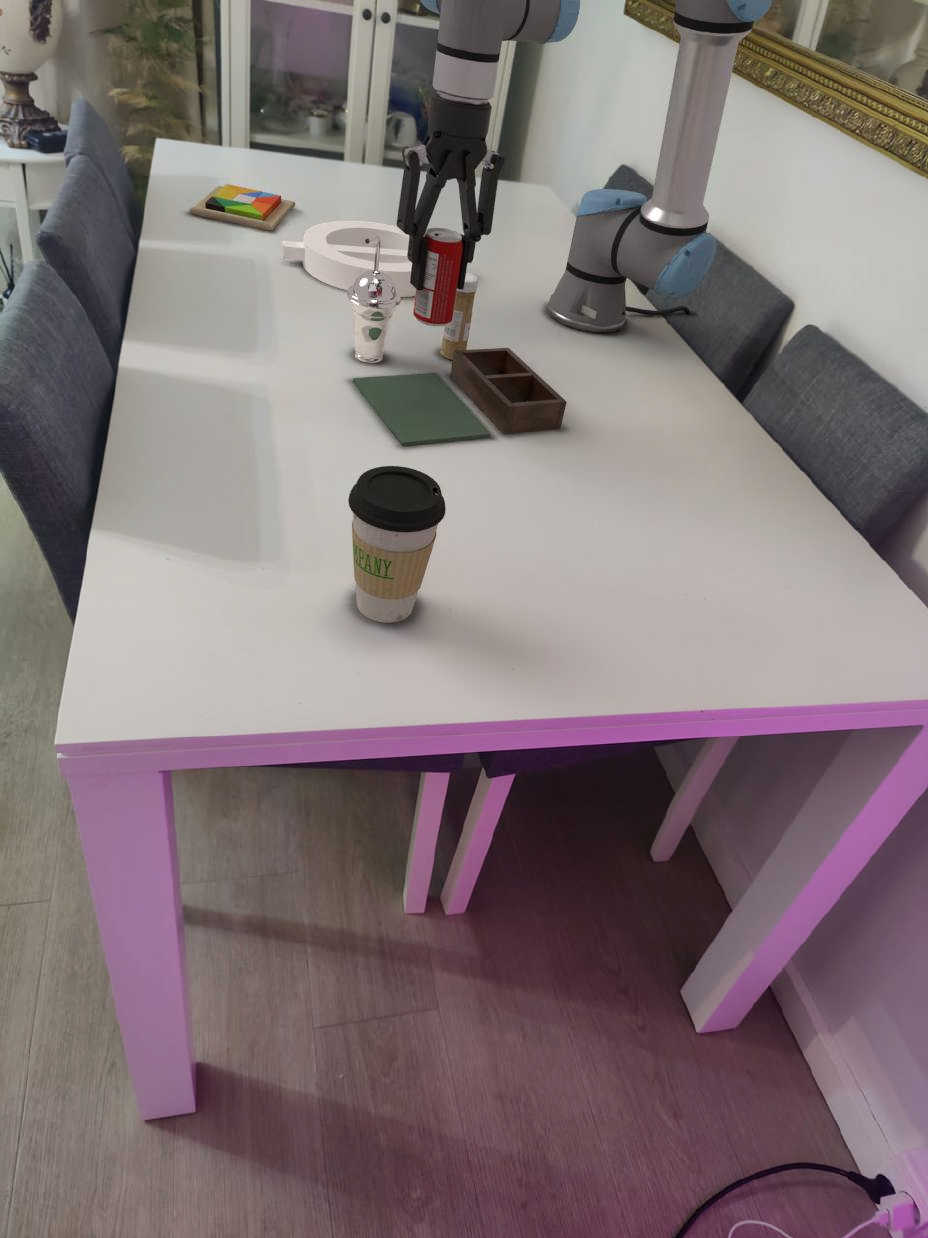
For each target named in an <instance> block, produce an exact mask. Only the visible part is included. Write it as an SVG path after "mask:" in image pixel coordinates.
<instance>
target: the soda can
mask: <svg viewBox="0 0 928 1238" xmlns="http://www.w3.org/2000/svg"><path fill="white" fill-rule="evenodd" d="M461 234H462V233H459V232H458V231H455V230H452V229H449V228H444V227H430V228H427V230H426V232H425V235H424V237H425V238H426V239H427V240H428V241H429V244H428V252H427V260H426V268H425V276H424V284H423V290H417V289H416V295H415V296H414V305H413V312H412V315H413V317H414V318H415V319H416V321H417V322H419V323H420V324H422V325H425V326H429V327H444V326H445V325H447V324H448V323H450V322H451V321H452V318H453V311H454V304H455V298H456V291H457V284H458V277H459V271H460V264H461V257H462V250H463V246H462V236H461Z"/></svg>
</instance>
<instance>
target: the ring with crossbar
mask: <svg viewBox="0 0 928 1238" xmlns="http://www.w3.org/2000/svg"><path fill="white" fill-rule="evenodd" d="M375 236H379V237H380V239H381V247H380V258H379V269H378V270H379V271H382V272H384V273H386V274H387V275H388V276H389V277H391V279H392V280H393V282H394V284H395V286H396V290H397V292H399V294H400V296H401V298H411V297H415V295H416V288H415V287H414V286H413V285H412V284H411V283H410V277H411V269H412V263H411V262H410V261H409V260H408V257H407V253H408V244H409V235H407V234H405V233H404V232H403V231H401V230H400V229H399V228H398V227H397V225H393V224H388V223H382V222H376V221H368V220H367V221H365V220H334V221H326V222H322V223H317V224H315V225H313V226H310V227H309V228H308V229H306V230H305V231H304V233H303V238H302V239H303V240H302V241H293V240H281V256H282V260H287V261H288V260H289V261H301V262H302V266H303V268H304V269H305V271H306V272H307V273H308V274H309V275H310V276H312V277H314V278H315V279H316V280H318V281H320V282H323V283H324V284H326V285H329V286H331V287H334V288H337V289H341V290H344V291H347V292H348V289H349V287H350V286H352V285H353V284H354V282H355V280H356V279H357V277H358V276H359V275H360V274H362V273H364V272H366V271H369V270H374V263H375V251H376V242H373V243H369V244H366V243H365V240H366V239H368V238H372V237H375Z"/></svg>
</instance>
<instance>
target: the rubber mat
mask: <svg viewBox="0 0 928 1238" xmlns="http://www.w3.org/2000/svg"><path fill="white" fill-rule="evenodd" d="M352 382H353V384H354V385H355V386H356V387H357V389H358V390H359V391H360V393H361V394H362V395H363V396H364V398H365V399H366V400H367V401H368V403H369V404H370V406H371V407H372V408H373V409H374V411H375V412H376V413H377V414H378V416H379V417H380V418H381V420H382V421H383V422H384V424H385V425H386V426H387V428H388V429H389V431H390V432H391V433H392V434H393V436H394V437H395V438H396V439H397V441H398V442H399V443H400V444H401V446H402V447H406V446H416V445H417V446H418V445H426V444H437V443H447V442H454V441H455V442H457V441H466V440H476V439H486V438H491V436H492V435H491V432H490V431H489V429H487V428H486V427H485V426H484V425H483V424H482V423H481V422H480V420H479V419H478V418H477V416H475V415H474V414H473V413H472V411H471V410H470V409H469V408H468V407H467V406H466V405H465V404H464V403H463V402H462V401H461V399H460V398H459V397H458V396H457V395H456V394H455V393H454V392H453V391H452V390H451V389H450V388H449V387H448V385H447V384H446V383H445V382H444V381H443V380H442V379H441V378H440V376H439V375H438V374H437V373H436V372H428V373H427V372H426V373H413V374H397V375H396V374H395V375H380V376H366V377H364V376H363V377H353V379H352Z"/></svg>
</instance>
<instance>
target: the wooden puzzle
mask: <svg viewBox="0 0 928 1238" xmlns="http://www.w3.org/2000/svg"><path fill="white" fill-rule="evenodd" d="M295 207H296V202H295V201H293V200H287V199H283V198H282V195H281V194H280V195H279V194H276V193H271V192H266V191H263V190H257V189H253V188H247V187H244V186H239V185H234V184H230V183H225V185H217V186H215V188H214V189H213V190H212V191H210V192H209V193H208V194H207V195H206V196H205V197H204V198H202V199H201V200H200V201H199V202H198V203H197V204H196V205H192V206H191V207H189V209H188V211H189V213H190V214H192V215H196V216H202V217H205V218H210V219H216V220H221V221H225V222H229V223H234V224H239V225H243V226H248V227H251V228H257V229H262V230H266V231H272V230H274V228H276V226H277V225H278V224H279V223H280V222H281V221H282V219H283V218H285V216H286V215H287V214H288V213H289V212H290V211H291V209H294V208H295Z"/></svg>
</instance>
